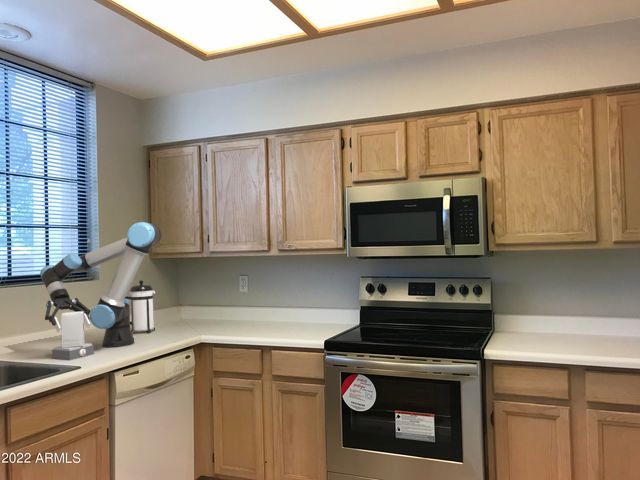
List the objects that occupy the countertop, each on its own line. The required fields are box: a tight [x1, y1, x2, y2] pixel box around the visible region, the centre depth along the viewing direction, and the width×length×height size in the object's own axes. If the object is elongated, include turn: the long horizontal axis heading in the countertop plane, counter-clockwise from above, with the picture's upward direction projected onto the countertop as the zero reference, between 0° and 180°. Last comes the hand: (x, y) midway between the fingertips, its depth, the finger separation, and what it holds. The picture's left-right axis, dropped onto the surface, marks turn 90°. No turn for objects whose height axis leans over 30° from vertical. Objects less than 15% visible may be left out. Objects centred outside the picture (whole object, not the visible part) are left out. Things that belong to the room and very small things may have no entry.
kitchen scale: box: [51, 342, 95, 361], centre depth 233 cm, size 13×12×5 cm
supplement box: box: [60, 311, 85, 348], centre depth 234 cm, size 9×9×15 cm
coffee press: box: [124, 279, 156, 335], centre depth 295 cm, size 17×16×30 cm
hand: (74, 327), depth 232 cm, fingers open, 13 cm apart
